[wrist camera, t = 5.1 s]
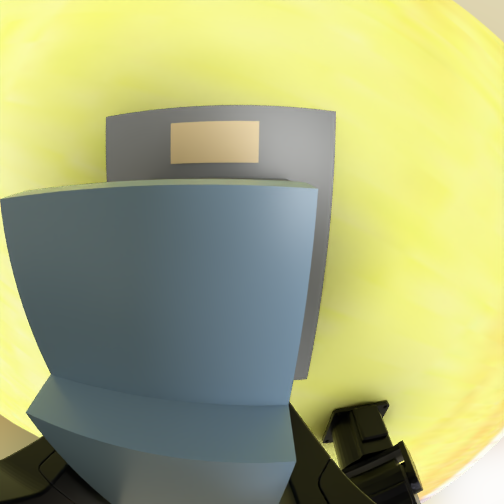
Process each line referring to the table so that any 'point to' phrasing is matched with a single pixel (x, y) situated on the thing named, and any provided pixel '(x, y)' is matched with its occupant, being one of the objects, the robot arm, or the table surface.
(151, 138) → the chassis plate
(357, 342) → the table surface
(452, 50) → the table surface
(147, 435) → the block
